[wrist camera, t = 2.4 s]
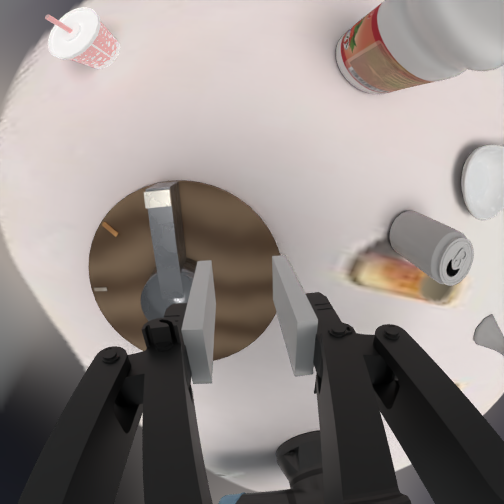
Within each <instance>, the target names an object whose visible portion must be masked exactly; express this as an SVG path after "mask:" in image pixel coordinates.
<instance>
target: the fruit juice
mask: <svg viewBox="0 0 504 504" xmlns="http://www.w3.org/2000/svg"><path fill="white" fill-rule="evenodd" d="M336 60H337V64H338V67H339V69H340V71H341V73H342V74H343V76H344V77H345V78H346V79H347V80H348V81H349V82H350V83H351V84H352V85H353V86H354V87H356V88H358V89H359V90H361V91H364V92H367V93H371V94H385V93H389V92H393V91H397V90H401V89H405V88H409V87H413V86H417V85H422V84H426V83H431V82H436V81H442V80H446V79H450V78H453V77H456V76H458V75H460V74H462V73H463V72H465V71H466V70H467V69H468V70H473V71H490V70H494V69H497V68H500V67H501V66H503V65H504V0H385V1H384V2H383V3H381V4H380V5H379V6H378V7H376V8H375V9H374V10H372V11H371V12H370V13H369V14H367V15H366V16H365V17H364V18H363V19H361V20H360V21H359V22H358V23H357V24H355V25H354V26H353V27H352V28H351V29H349V30H348V31H347V32H346V33H345V34H344V35H343V36H342V37H341V39H340V40H339V42H338V44H337V48H336Z"/></svg>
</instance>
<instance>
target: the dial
mask: <svg viewBox="0 0 504 504" xmlns="http://www.w3.org/2000/svg"><path fill="white" fill-rule="evenodd" d="M144 200H145V208H148V215H149V223H150V230H151V237H152V244H153V250H154V256H155V262H156V267H155V269H154V270H153V272H152V274H151V276H150V277H149V279H148V281H147V283H146V285H145V286H144V288H143V291H142V293H141V299H140V300H141V308H142V311H143V313H144V315H145V317H146V318H147V320H148V321H150V320H153V319H156V318H163V317H164V314H165V311H166V309H167V308H168V307H169V306H170V305H171V304H176V303H188V299H189V295H190V290H191V286H192V282H193V278H194V274H195V270H196V266H197V262H196V261H194V260H192V259H190V258H187V257H186V249H185V241H184V232H183V223H182V214H181V204H180V194H179V182H178V181H174V182H165V183H157V184H155V185H153V186H151V187H149V188H147V189H146V191H145V192H144Z"/></svg>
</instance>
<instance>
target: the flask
mask: <svg viewBox="0 0 504 504" xmlns="http://www.w3.org/2000/svg"><path fill="white" fill-rule="evenodd" d="M474 341H475V343H476V344H477V345H480V346H484V347H487V348H490V349H493V350H495V351H497V352H499V353H501V354H502V355H503V356H504V336H503V334H502V332H501V330H500V328H499V326H498V324H497V322H496V320H495V318H494V316H493V315H490V316H489V317H487V318H485V319H484V320H483V321H482V322H481V324H480V325H479V326H478V327H477V329H476V331H475V335H474Z"/></svg>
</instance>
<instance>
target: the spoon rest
mask: <svg viewBox="0 0 504 504" xmlns="http://www.w3.org/2000/svg"><path fill="white" fill-rule="evenodd" d="M461 186H462V193H463V197H464V201H465V204H466V206H467V208H468V210H469V211H470V213H471V214H472V215H473V216H474V217H475V218H477V219H479V220H487V219H491V218H493V217H495V216H496V215H497V214H498V213H500V212H501V211H502V210H503V209H504V146H501V145H493V144H492V145H484V146H481V147H479V148H477V149H475V150H474V151H473V152H472V153H471V154H470V155H469V157H468V158H467V160H466V162H465V164H464V167H463V171H462V178H461Z"/></svg>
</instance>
